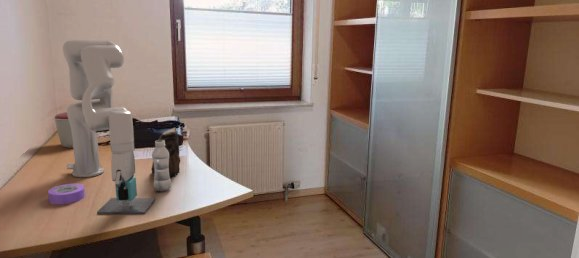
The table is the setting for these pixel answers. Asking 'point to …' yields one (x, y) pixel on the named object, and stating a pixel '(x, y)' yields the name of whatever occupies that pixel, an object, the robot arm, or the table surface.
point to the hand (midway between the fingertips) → (126, 196)
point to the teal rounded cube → (129, 189)
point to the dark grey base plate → (127, 206)
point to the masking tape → (66, 193)
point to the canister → (64, 129)
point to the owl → (171, 151)
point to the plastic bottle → (161, 166)
